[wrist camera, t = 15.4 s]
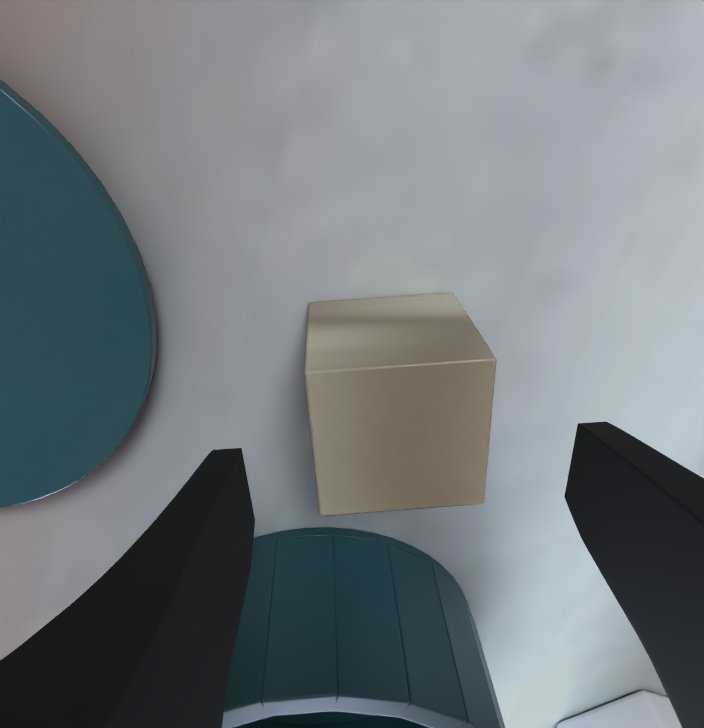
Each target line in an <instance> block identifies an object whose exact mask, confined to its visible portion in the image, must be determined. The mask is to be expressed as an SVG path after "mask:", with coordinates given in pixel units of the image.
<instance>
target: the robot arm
mask: <svg viewBox="0 0 704 728" xmlns="http://www.w3.org/2000/svg"><path fill="white" fill-rule="evenodd" d="M565 499H566V502H567V504H568V507H569V509H570V512H571V514H572V517H573V519H574V522H575V524H576V526H577V529H578V531H579V533H580V536H581V538H582V540H583V542H584V544H585V545H586V547H587V549H588V551H589V553H590V554H591V556H592V558H593V560H594V561H595V563H596V565H597V567H598V568H599V570H600V572H601V573H602V575H603V577H604V579H605V580H606V582H607V584H608V585H609V587H610V589H611V591H612V592H613V594H614V596H615V597H616V599H617V601H618V603H619V604H620V606H621V608H622V609H623V611H624V613H625V614H626V616H627V618H628V620H629V621H630V623H631V625H632V626H633V628H634V630H635V632H636V633H637V635H638V637H639V639H640V640H641V642H642V644H643V646H644V648H645V650H646V652H647V654H648V655H649V657H650V659H651V661H652V663H653V665H654V668H655V670H656V672H657V674H658V676H659V678H660V680H661V683H662V685H663V687H664V689H665V691H666V693H667V696H668V698H669V700H670V702H671V704H672V706H673V709H674V711H675V713H676V715H677V717H678V720H679V722H680V724H681V727H682V728H704V478H702V477H700V476H698V475H697V474H695V473H693V472H692V471H690V470H688V469H687V468H685V467H683V466H681V465H680V464H678V463H676V462H675V461H673V460H671V459H670V458H668V457H666V456H665V455H663V454H661V453H660V452H658V451H656V450H655V449H653V448H651V447H650V446H648V445H646V444H645V443H643V442H641V441H640V440H638V439H636V438H635V437H633V436H631V435H630V434H628V433H626V432H624V431H623V430H621V429H619V428H617V427H616V426H614V425H612V424H610V423H608V422H595V423H581V424H578V426H577V432H576V437H575V443H574V448H573V454H572V459H571V465H570V470H569V475H568V481H567V486H566V492H565ZM254 525H255V518H254V513H253V508H252V502H251V497H250V492H249V486H248V481H247V476H246V470H245V465H244V460H243V454H242V449H241V448H235V449H221V450H212V451H211V452H210V453H209V455H208V456H207V457H206V458H205V459H204V461H203V462H202V463H201V465H200V466H199V467H198V468H197V470H196V471H195V472H194V473H193V475H192V476H191V477H190V479H189V480H188V481H187V482H186V484H185V485H184V486H183V487H182V489H181V490H180V491H179V492H178V494H177V495H176V496H175V497H174V498H173V500H172V501H171V502H170V503H169V504H168V506H167V507H166V508H165V509H164V510H163V512H162V513H161V514H160V515H159V516H158V518H157V519H156V520H155V521H154V522H153V523H152V524H151V526H150V527H149V528H148V529H147V530H146V531H145V532H144V533H143V534H142V535H141V537H140V538H139V539H138V540H137V541H136V542H135V543H134V544H133V545H132V546H131V547H130V548H129V549H128V551H127V552H126V553H125V554H124V555H123V556H122V557H121V558H120V559H119V560H118V561H117V562H116V563H115V564H114V565H113V566H112V567H111V568H110V569H109V570H108V571H107V572H106V573H105V574H104V575H103V576H102V577H101V578H100V579H99V580H98V581H96V582H95V583H94V584H93V585H92V586H91V587H90V588H89V589H88V590H87V591H86V592H84V593H83V594H82V595H81V596H80V597H79V598H78V599H77V600H76V601H74V602H73V603H72V604H71V605H70V606H69V607H67V608H66V609H65V610H64V611H62V612H61V613H60V614H59V615H58V616H56V617H55V618H54V619H53V620H51V621H50V622H49V623H48V624H46V625H45V626H44V627H43V628H42V629H40V630H39V631H38V632H37V633H35V634H34V635H33V636H32V637H31V638H29V639H28V640H27V641H26V642H24V643H23V644H22V645H21V646H19V647H18V648H17V649H15V650H14V651H13V652H11V653H10V654H9V655H7V656H6V657H5V658H3V659H2V660H1V661H0V728H222V722H223V713H224V704H225V696H226V689H227V683H228V677H229V671H230V666H231V661H232V657H233V652H234V647H235V642H236V637H237V632H238V627H239V623H240V618H241V613H242V608H243V603H244V598H245V593H246V588H247V583H248V579H249V573H250V568H251V561H252V550H253V538H254Z"/></svg>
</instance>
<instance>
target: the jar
mask: <svg viewBox="0 0 704 728" xmlns="http://www.w3.org/2000/svg"><path fill="white" fill-rule="evenodd" d="M557 728H682V727H681V724H680V722H679V720H678V717H677V715H676V713H675V711H674V709H673V706H672V704H671V702H670V700H669V698H668V697H666V696H662V695H659V694H655V693H652V692H648V691H645V690H642V691H638V692H636V693H633V694H631V695H628V696H625V697H623V698H620V699H618V700H615V701H613V702H610V703H607V704H605V705H602V706H600V707H597V708H595V709H592V710H590V711H587V712H584V713H582V714H579V715H577V716H574V717H572V718H569V719H566V720H564V721H561V722H559V723H558V725H557Z"/></svg>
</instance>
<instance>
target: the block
mask: <svg viewBox="0 0 704 728" xmlns="http://www.w3.org/2000/svg"><path fill="white" fill-rule="evenodd" d="M495 371H496V358H495V356H494V354H493V353H492V351H491V350H490V348H489V347H488V345H487V344H486V342H485V341H484V339H483V337H482V336H481V334H480V333H479V331H478V330H477V328H476V327H475V325H474V324H473V322H472V321H471V319H470V317H469V316H468V314H467V313H466V311H465V310H464V308H463V307H462V305H461V304H460V302H459V300H458V299H457V297H456V296H455V294H454V293H442V294H428V295H413V296H398V297H383V298H369V299H354V300H339V301H324V302H311V303H309V305H308V322H307V339H306V356H305V373H304V374H305V383H306V392H307V401H308V410H309V420H310V429H311V438H312V447H313V457H314V466H315V475H316V484H317V494H318V503H319V512H320V515H321V516H330V515H343V514H356V513H369V512H382V511H395V510H408V509H421V508H434V507H447V506H460V505H473V504H482V503H484V496H485V485H486V474H487V462H488V451H489V439H490V428H491V417H492V405H493V394H494V383H495Z"/></svg>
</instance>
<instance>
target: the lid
mask: <svg viewBox="0 0 704 728" xmlns="http://www.w3.org/2000/svg"><path fill="white" fill-rule="evenodd" d="M156 347H157V340H156V316H155V310H154V305H153V300H152V294H151V289H150V284H149V281H148V278H147V275H146V272H145V269H144V266H143V263H142V259H141V256H140V253H139V251H138V248H137V246H136V244H135V242H134V240H133V238H132V236H131V234H130V231H129V229H128V227H127V225H126V223H125V221H124V219H123V217H122V215H121V213H120V212H119V210H118V209H117V207H116V205H115V204H114V202H113V201H112V199H111V197H110V196H109V194H108V192H107V191H106V189H105V188H104V186H103V184H102V183H101V181H100V180H99V179H98V178H97V176H96V175H95V174H94V172H93V171H92V170H91V169H90V167H89V166H88V165H87V163H86V162H85V161H84V160H83V158H82V157H81V156H80V154H79V153H78V152H77V151H76V149H75V148H74V147H73V146H72V145H71V144H70V143H69V142H68V141H67V140H66V139H65V138H64V137H63V136H62V135H61V134H60V132H59V131H58V130H57V129H56V128H55V127H54V126H53V125H52V124H51V123H50V122H49V121H48V120H47V119H46V118H45V117H44V116H43V115H42V114H41V113H40V112H39V111H38V110H36V109H35V108H34V107H33V106H32V105H30V104H29V103H28V102H27V101H26V100H25V99H23V98H22V97H21V96H20V95H19V94H18V93H16V92H15V91H14V90H13V89H12V88H10V87H9V86H8V85H7V84H6V83H4V82H3V81H2V80H0V508H4V507H11V506H15V505H19V504H22V503H26V502H30V501H34V500H37V499H40V498H43V497H45V496H48V495H50V494H53V493H56V492H58V491H60V490H62V489H64V488H66V487H68V486H70V485H71V484H73V483H75V482H77V481H79V480H81V479H82V478H84V477H85V476H86V475H88V474H89V473H90V472H92V471H93V470H94V469H96V468H97V467H98V466H100V465H101V464H102V463H103V462H104V461H105V460H106V459H107V458H108V457H109V456H110V455H111V454H112V453H113V452H114V451H115V450H116V449H117V448H118V446H119V445H120V444H121V442H122V441H123V439H124V438H125V436H126V435H127V433H128V432H129V431H130V429H131V428H132V426H133V424H134V423H135V421H136V419H137V417H138V415H139V413H140V410H141V408H142V406H143V404H144V402H145V400H146V398H147V394H148V391H149V387H150V384H151V380H152V376H153V373H154V365H155V356H156Z"/></svg>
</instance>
